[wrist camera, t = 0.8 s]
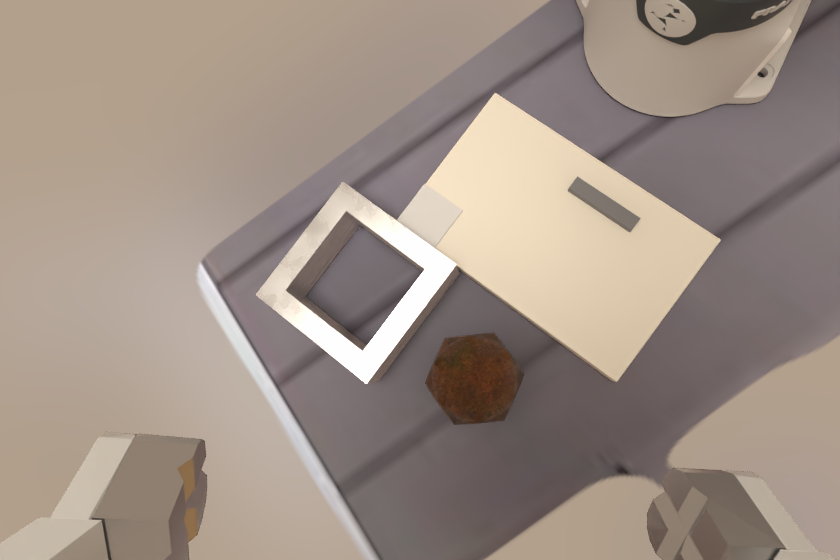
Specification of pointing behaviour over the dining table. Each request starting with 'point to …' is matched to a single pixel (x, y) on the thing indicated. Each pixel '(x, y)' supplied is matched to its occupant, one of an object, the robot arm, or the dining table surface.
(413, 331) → the hollow square frame
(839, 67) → the dining table surface
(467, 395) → the bolt
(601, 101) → the dining table surface
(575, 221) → the cabinet door
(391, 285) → the dining table surface
